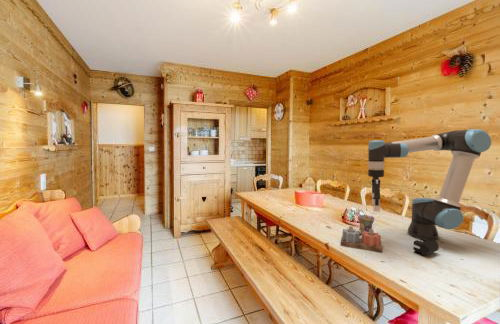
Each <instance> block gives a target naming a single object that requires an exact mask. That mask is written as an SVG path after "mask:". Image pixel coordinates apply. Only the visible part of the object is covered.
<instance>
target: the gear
mask: <svg viewBox="0 0 500 324" xmlns="http://www.w3.org/2000/svg"><path fill="white" fill-rule="evenodd" d="M360 235H361V234H360V232H359V230H356V229H355V228H353V233H351V232H349V227H348V228H347V227H346V228H343V229H342V235H341V238H342V240H345V241H346V242H352V243H355V242H358V243H359V242H360V238H361V236H360Z"/></svg>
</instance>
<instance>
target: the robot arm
mask: <svg viewBox="0 0 500 324" xmlns="http://www.w3.org/2000/svg"><path fill="white" fill-rule="evenodd" d="M491 145H492V138H491V136H490V134H489V133H488V132H487V131H485V130H483V129H477V128H476V129H475V128H471V129H457V130H451V131H446V132H441V133H436V134H432V135H431V136H427V137H421V138H410V139H406V140H398V141H390V142H386V141H385V140H381V139H380V140H369V142H368V146H367V147H368V149H367V151H368V155H367V157H368V161H367V163H366V165H368V166H367V167H368V170H367V176H369V177H371V206H373V212H377V213H380V208H381V205H380V204H381V179H379V178H383V177H384V176H385V170H384V169H385V159H387V158H399V159H400V158H405V157H407V156H408V155H409V153H415V152H417V153H418V152H424V151H431V150H433V151H435V152H436V151H437V152H438V151H450V153H451V154H452V158H451V162H450V164H449V167H448V168H447V169H448V170H447V172H446V175H445V177H444V181H443V184H442V186H441V189H440V192H439V194H438V197H436V198H431V197H415V198H412V203H411V222H410V223H409V226H408V228H407V235H409V236H410V237H413V238H416V239H417V240H419V239H421V238H424V239H428V240H432V239H433V240H435V241H437V240H439V232H438V229H437V227H438V228H441V229H444V230H445V229H446V230H454V229H456V228H459V227H460V226H461V225H462V224H463V222H464V219H465V218H464V215H463V212H462V211H461V209H462V205H461V204H460V200H461V197H462V194H463V192H464V189H465V186H466V185H467V184H466V183H467V182H468V178H469V175H470V173H471V170H472V168H473V164H474V163H475V160H476V159H478V158H480V157H481V154H482V153H485V152H486V151H488V150H489V149H490V148H491Z"/></svg>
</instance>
